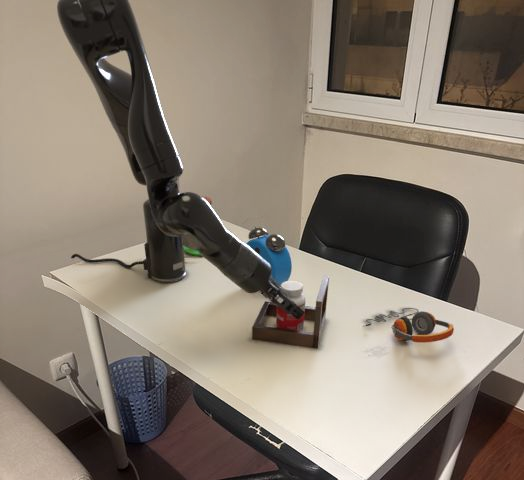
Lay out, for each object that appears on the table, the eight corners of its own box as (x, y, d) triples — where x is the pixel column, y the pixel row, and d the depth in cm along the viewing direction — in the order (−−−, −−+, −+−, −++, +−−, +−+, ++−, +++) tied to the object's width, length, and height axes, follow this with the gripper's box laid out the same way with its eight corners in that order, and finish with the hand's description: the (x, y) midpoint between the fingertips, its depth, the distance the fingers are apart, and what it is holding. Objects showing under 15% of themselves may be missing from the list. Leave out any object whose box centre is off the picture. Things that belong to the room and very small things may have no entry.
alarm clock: (291, 292, 129) (294, 236, 120) (273, 299, 125) (274, 241, 117) (259, 275, 137) (259, 221, 129) (241, 281, 134) (240, 226, 125)
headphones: (408, 296, 122) (474, 314, 105) (407, 316, 124) (473, 338, 107) (351, 311, 115) (412, 333, 98) (352, 332, 117) (412, 358, 100)
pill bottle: (274, 323, 115) (276, 279, 109) (301, 322, 116) (303, 278, 110) (277, 337, 110) (279, 292, 104) (305, 336, 111) (308, 291, 105)
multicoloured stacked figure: (191, 239, 159) (188, 191, 150) (227, 245, 155) (225, 197, 146) (171, 252, 149) (166, 202, 141) (208, 259, 145) (206, 208, 137)
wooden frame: (252, 339, 109) (252, 293, 103) (264, 313, 119) (265, 269, 113) (317, 348, 107) (322, 301, 100) (325, 320, 117) (329, 276, 111)
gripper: (219, 266, 106) (270, 306, 117) (243, 295, 95) (296, 337, 105) (243, 239, 105) (292, 282, 115) (269, 265, 94) (321, 310, 104)
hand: (294, 308), depth 110 cm, fingers closed on pill bottle, 6 cm apart
